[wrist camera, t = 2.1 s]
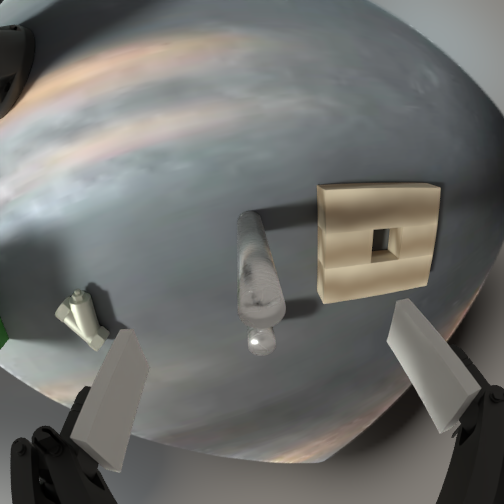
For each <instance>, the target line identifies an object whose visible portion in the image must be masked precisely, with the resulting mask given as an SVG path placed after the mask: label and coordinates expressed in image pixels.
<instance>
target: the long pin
mask: <svg viewBox="0 0 504 504" xmlns="http://www.w3.org/2000/svg"><path fill="white" fill-rule="evenodd" d="M237 276H238V315H239V318H240V319H241V321H242V322H243V323H244V324H246V325H247V326H249V327H252V328H256V329H265V328H269V327H272V326H274V325H276V324H277V323H279V322H280V321H281V320H282V318H283V317H284V315H285V312H286V305H285V301H284V297H283V294H282V290H281V287H280V283H279V279H278V276H277V272H276V269H275V265H274V262H273V258H272V255H271V251H270V248H269V244H268V241H267V237H266V234H265V230H264V227H263V224H262V220H261V217H260V216H259V214H257V213H256V212H254V211H246V212H243V213H242V214H241V215H240V216H239V218H238V221H237Z"/></svg>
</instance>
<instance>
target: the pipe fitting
mask: <svg viewBox="0 0 504 504" xmlns="http://www.w3.org/2000/svg"><path fill="white" fill-rule="evenodd" d="M55 316H56V317H57V318H58V319H59V320H60V321H61V322H64V323H65V324H66V325H67V326H68V327H70V328H71V329H72V330H73V331H74V332H75V333H76V334H77V335H79V336H80V337H81V338H82V339H83V340H84V341H86V342H87V343H88V345H89V346H90V347H91V348H92V349H94V350H95V351H98V350H99V349H100V348H101V346H102V345H103V343H104V342H105V341H106V339H107V337H108V336H109V333H110V332H109V331H108V330H107V329H105V328H104V327H103V326H100V325H99V323H98V320H97V316H96V313H95V310H94V306H93V303H92V299H91V295H90V294H89V293H86V292H84V291H82V290H81V289H76V290H75V291H74V293H73V294H72V297H70V296H68V297H67V298H66V299H65V300H64V301H63V302H62V303H61V305H60V306H59V308H58V309H57V311H56V313H55Z"/></svg>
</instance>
